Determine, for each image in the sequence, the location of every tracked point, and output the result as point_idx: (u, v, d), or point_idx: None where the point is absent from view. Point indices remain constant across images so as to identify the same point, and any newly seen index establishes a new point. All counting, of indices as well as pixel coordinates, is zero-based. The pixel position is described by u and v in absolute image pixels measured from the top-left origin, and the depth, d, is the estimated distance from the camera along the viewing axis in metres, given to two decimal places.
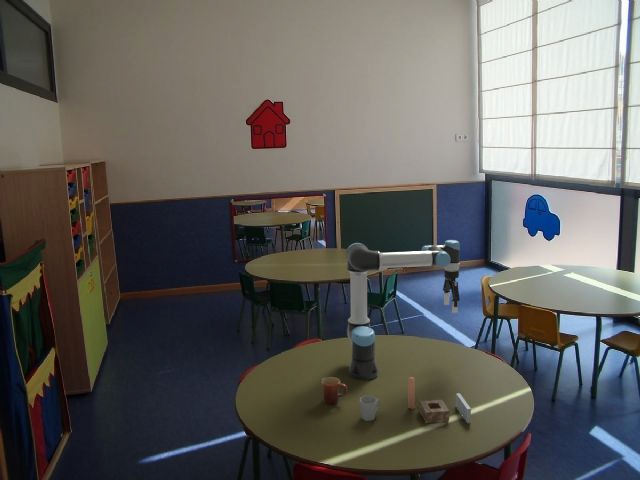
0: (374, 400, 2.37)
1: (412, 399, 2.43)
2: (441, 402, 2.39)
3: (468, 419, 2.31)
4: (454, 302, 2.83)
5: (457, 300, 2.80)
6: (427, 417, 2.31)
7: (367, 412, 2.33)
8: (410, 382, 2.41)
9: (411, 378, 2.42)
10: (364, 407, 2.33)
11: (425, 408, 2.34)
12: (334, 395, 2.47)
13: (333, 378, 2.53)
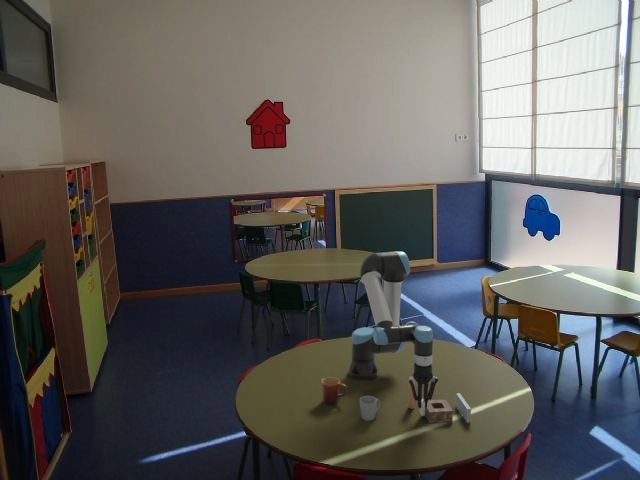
0: (374, 400, 2.37)
1: (412, 399, 2.43)
2: (444, 402, 2.39)
3: (468, 419, 2.31)
4: None
5: (414, 398, 2.34)
6: (431, 417, 2.31)
7: (367, 412, 2.33)
8: None
9: None
10: (364, 407, 2.33)
11: (429, 408, 2.34)
12: (334, 395, 2.47)
13: (333, 378, 2.53)
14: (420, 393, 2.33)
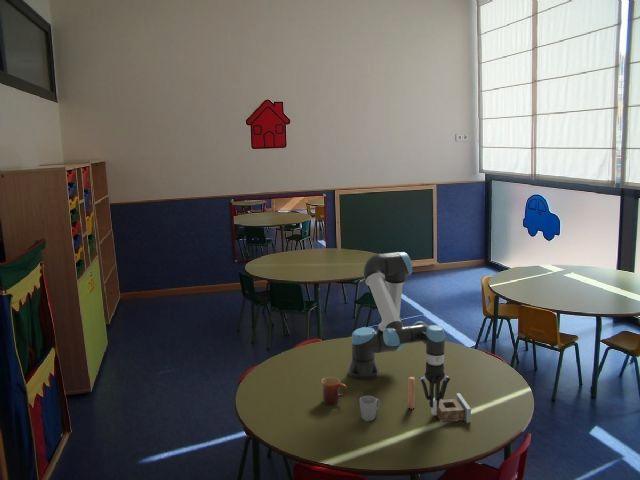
0: (374, 400, 2.37)
1: (412, 399, 2.43)
2: (456, 401, 2.39)
3: (468, 419, 2.31)
4: None
5: (426, 397, 2.34)
6: (442, 416, 2.31)
7: (367, 412, 2.33)
8: (410, 382, 2.41)
9: (411, 378, 2.42)
10: (364, 407, 2.33)
11: (440, 407, 2.34)
12: (334, 395, 2.47)
13: (333, 378, 2.53)
14: (432, 392, 2.33)
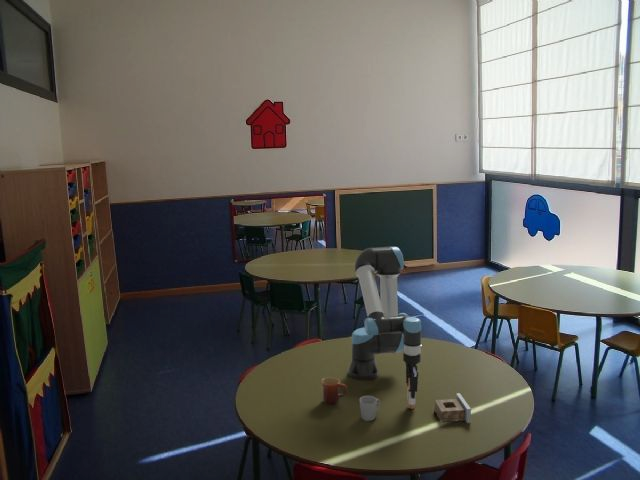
0: (374, 400, 2.37)
1: None
2: (456, 401, 2.39)
3: (468, 419, 2.31)
4: (411, 392, 2.41)
5: (414, 391, 2.38)
6: (443, 416, 2.31)
7: (367, 412, 2.33)
8: None
9: None
10: (364, 407, 2.33)
11: (440, 407, 2.34)
12: (334, 395, 2.47)
13: (333, 378, 2.53)
14: None
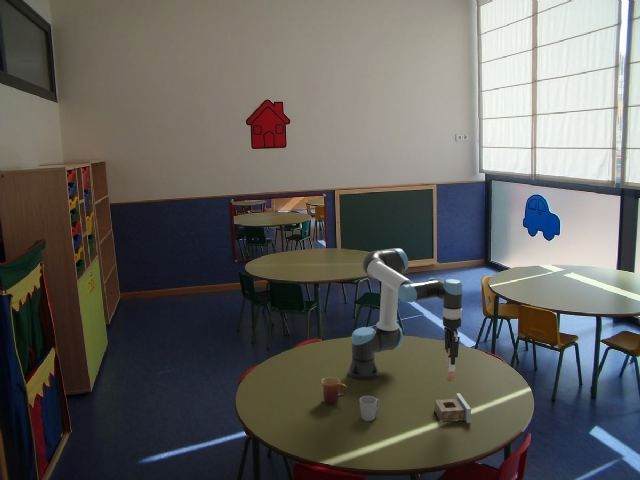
0: (374, 400, 2.37)
1: (452, 371, 2.32)
2: (456, 401, 2.39)
3: (468, 419, 2.31)
4: (451, 359, 2.29)
5: (455, 357, 2.27)
6: (443, 416, 2.31)
7: (367, 412, 2.33)
8: None
9: None
10: (364, 407, 2.33)
11: (440, 407, 2.34)
12: (334, 395, 2.47)
13: (333, 378, 2.53)
14: None
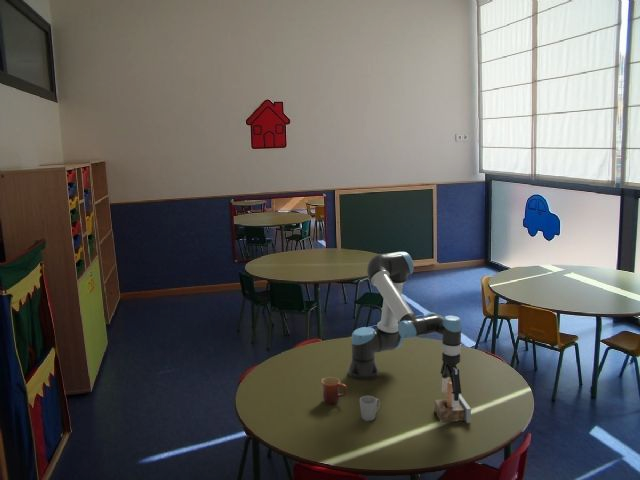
0: (374, 400, 2.37)
1: (451, 405, 2.35)
2: None
3: (468, 419, 2.31)
4: (454, 394, 2.27)
5: (458, 393, 2.24)
6: (443, 416, 2.31)
7: (367, 412, 2.33)
8: (449, 387, 2.33)
9: (450, 383, 2.34)
10: (364, 407, 2.33)
11: (440, 407, 2.34)
12: (334, 395, 2.47)
13: (333, 378, 2.53)
14: None
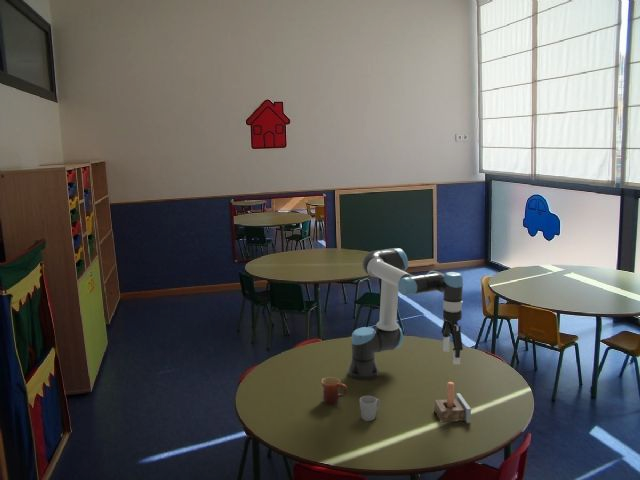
0: (374, 400, 2.37)
1: (451, 405, 2.35)
2: (456, 401, 2.39)
3: (468, 419, 2.31)
4: (456, 351, 2.23)
5: (459, 349, 2.21)
6: (443, 416, 2.31)
7: (367, 412, 2.33)
8: (449, 387, 2.33)
9: (450, 383, 2.34)
10: (364, 407, 2.33)
11: (440, 407, 2.34)
12: (334, 395, 2.47)
13: (333, 378, 2.53)
14: None
